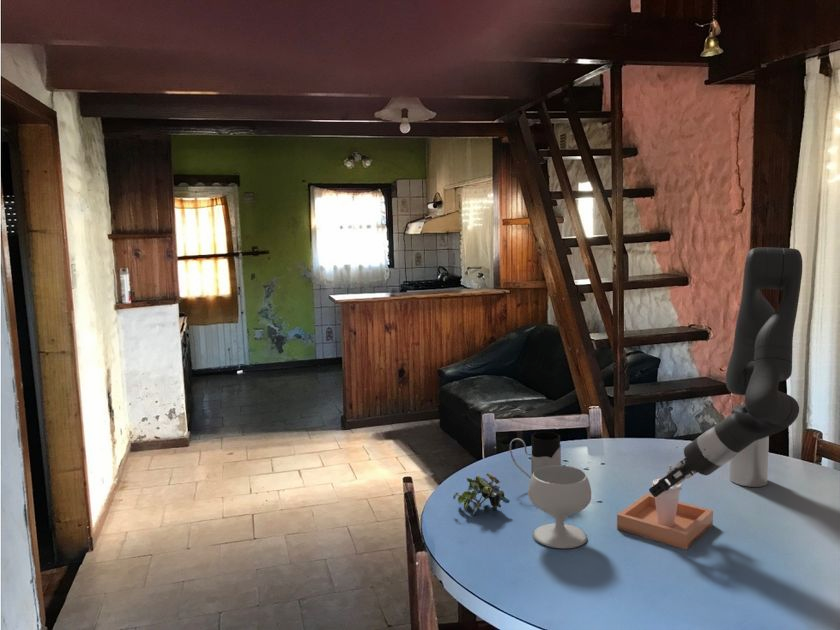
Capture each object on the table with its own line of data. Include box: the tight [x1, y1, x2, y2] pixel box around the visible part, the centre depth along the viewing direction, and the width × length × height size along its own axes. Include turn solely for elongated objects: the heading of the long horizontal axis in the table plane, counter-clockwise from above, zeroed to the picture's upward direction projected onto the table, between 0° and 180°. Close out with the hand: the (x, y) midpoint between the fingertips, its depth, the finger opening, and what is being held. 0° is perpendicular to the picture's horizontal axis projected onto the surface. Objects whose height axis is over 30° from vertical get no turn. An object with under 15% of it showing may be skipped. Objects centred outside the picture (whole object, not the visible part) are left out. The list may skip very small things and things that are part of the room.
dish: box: [616, 493, 714, 551], centre depth 151 cm, size 16×16×4 cm
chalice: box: [527, 464, 592, 549], centre depth 147 cm, size 14×14×15 cm
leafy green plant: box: [453, 473, 510, 517], centre depth 163 cm, size 11×11×12 cm
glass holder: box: [509, 431, 562, 480], centre depth 176 cm, size 9×14×15 cm, turn 71°
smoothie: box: [651, 464, 683, 526], centre depth 150 cm, size 6×6×14 cm
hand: (659, 487), depth 151 cm, fingers open, 8 cm apart
